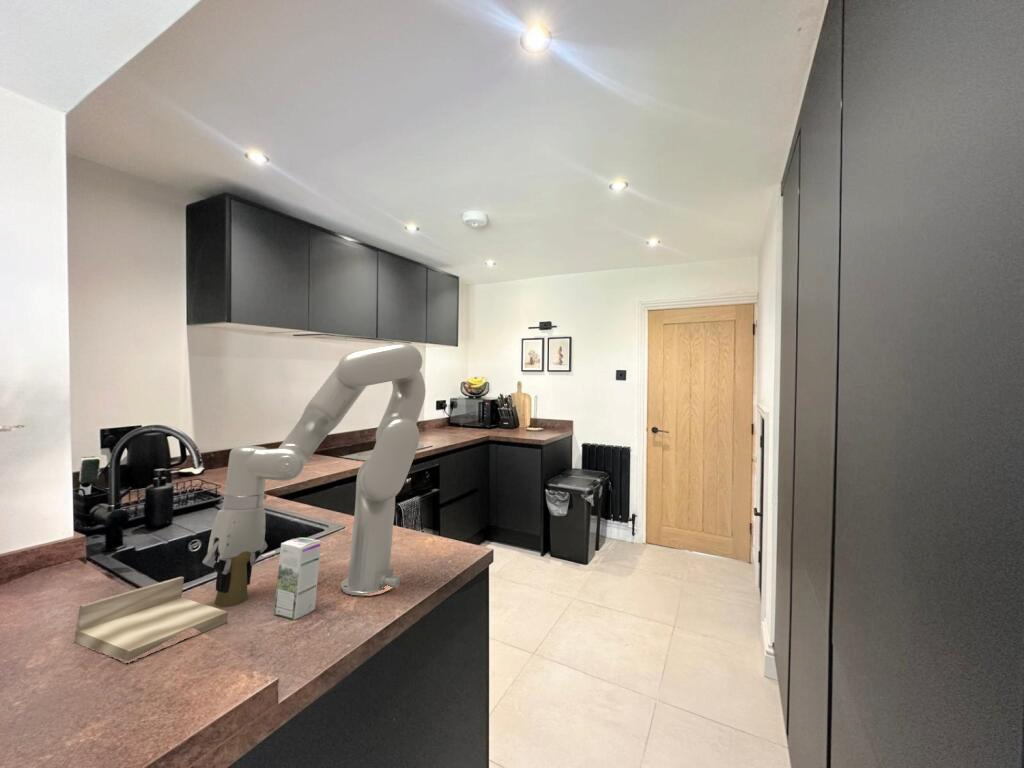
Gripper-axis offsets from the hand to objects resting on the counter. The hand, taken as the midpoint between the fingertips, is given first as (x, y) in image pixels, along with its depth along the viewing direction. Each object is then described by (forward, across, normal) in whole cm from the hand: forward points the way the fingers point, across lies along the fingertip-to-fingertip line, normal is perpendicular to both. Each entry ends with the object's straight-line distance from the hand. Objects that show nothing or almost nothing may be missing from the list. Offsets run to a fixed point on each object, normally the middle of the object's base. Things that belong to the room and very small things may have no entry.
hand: (233, 586), depth 90 cm
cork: (+3, 0, 0) cm, 3 cm away
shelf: (+3, +15, +1) cm, 15 cm away
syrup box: (+3, -2, +16) cm, 16 cm away
